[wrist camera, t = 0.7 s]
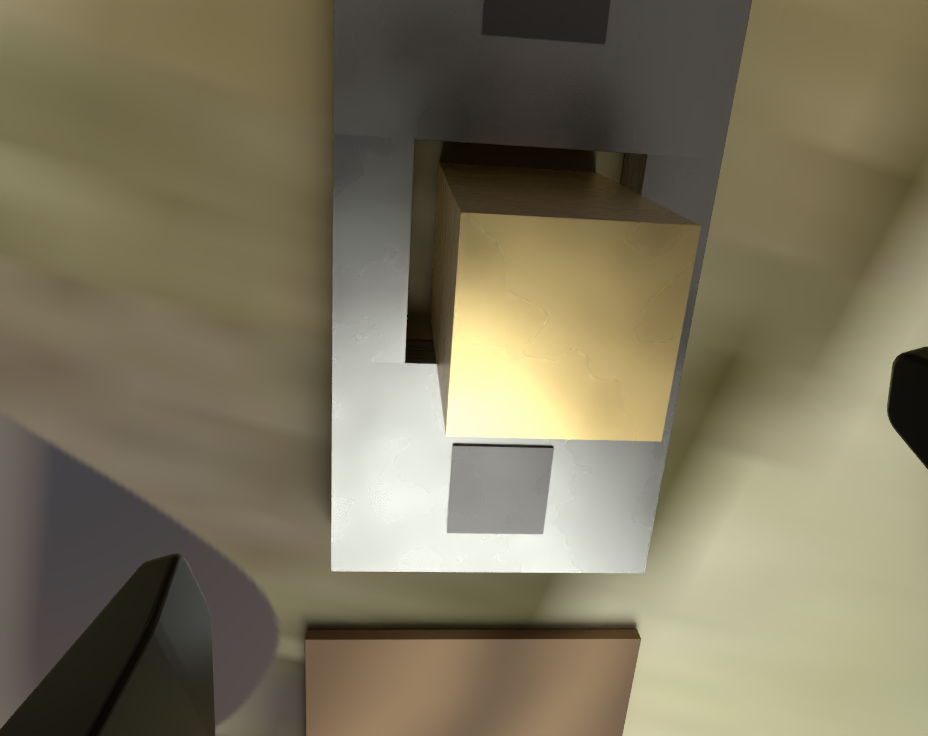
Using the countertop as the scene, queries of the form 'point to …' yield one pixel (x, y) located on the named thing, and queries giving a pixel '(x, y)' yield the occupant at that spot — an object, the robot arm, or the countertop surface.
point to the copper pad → (469, 682)
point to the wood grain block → (555, 304)
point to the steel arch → (388, 248)
